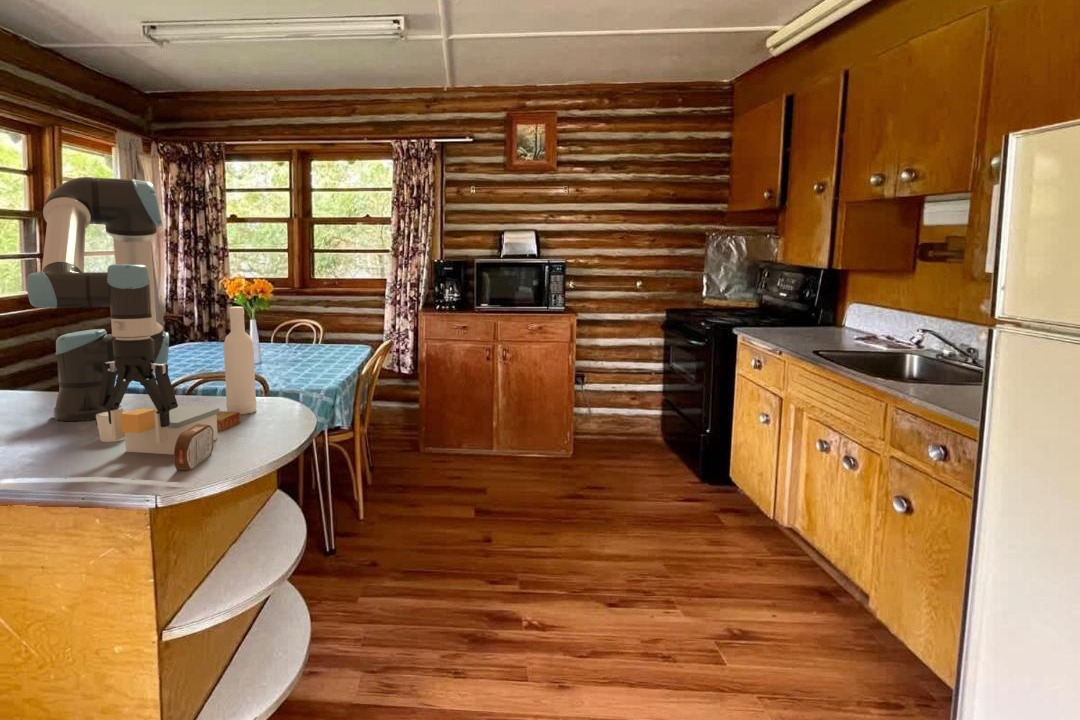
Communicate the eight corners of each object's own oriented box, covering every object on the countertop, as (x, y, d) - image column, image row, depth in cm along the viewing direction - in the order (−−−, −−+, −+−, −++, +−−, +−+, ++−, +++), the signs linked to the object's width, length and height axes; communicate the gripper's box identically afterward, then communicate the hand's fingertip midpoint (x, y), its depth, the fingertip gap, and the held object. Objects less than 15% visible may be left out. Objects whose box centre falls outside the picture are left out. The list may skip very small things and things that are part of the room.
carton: (223, 435, 173) (222, 418, 172) (163, 432, 174) (162, 416, 174) (241, 426, 181) (240, 411, 180) (183, 424, 182) (182, 408, 182)
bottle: (233, 408, 200) (228, 305, 196) (260, 408, 200) (256, 306, 196) (222, 414, 192) (216, 307, 188) (250, 415, 193) (245, 308, 188)
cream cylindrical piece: (100, 439, 166) (98, 411, 164) (133, 436, 168) (131, 409, 167) (95, 446, 159) (92, 417, 158) (129, 444, 162) (127, 415, 161)
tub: (126, 454, 153) (124, 424, 152) (168, 438, 167) (167, 410, 166) (179, 458, 151) (177, 427, 150) (217, 441, 165) (216, 413, 164)
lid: (101, 437, 147) (99, 412, 146) (167, 416, 167) (165, 393, 166) (160, 441, 145) (159, 416, 144) (219, 419, 165) (218, 396, 164)
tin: (202, 455, 154) (200, 419, 153) (217, 455, 154) (215, 419, 153) (173, 477, 139) (170, 436, 138) (189, 477, 139) (186, 436, 138)
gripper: (71, 337, 143) (80, 441, 147) (168, 341, 140) (175, 447, 143) (99, 334, 151) (107, 432, 154) (192, 337, 147) (198, 438, 151)
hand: (140, 440), depth 149 cm, fingers open, 10 cm apart
